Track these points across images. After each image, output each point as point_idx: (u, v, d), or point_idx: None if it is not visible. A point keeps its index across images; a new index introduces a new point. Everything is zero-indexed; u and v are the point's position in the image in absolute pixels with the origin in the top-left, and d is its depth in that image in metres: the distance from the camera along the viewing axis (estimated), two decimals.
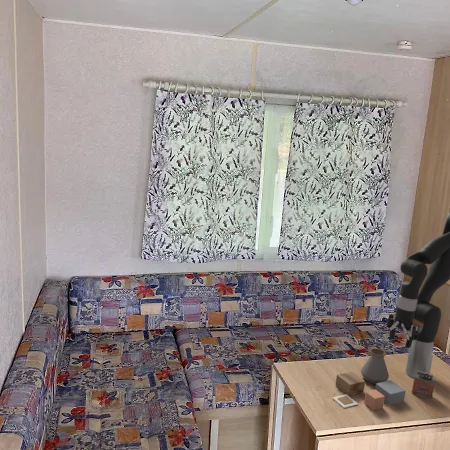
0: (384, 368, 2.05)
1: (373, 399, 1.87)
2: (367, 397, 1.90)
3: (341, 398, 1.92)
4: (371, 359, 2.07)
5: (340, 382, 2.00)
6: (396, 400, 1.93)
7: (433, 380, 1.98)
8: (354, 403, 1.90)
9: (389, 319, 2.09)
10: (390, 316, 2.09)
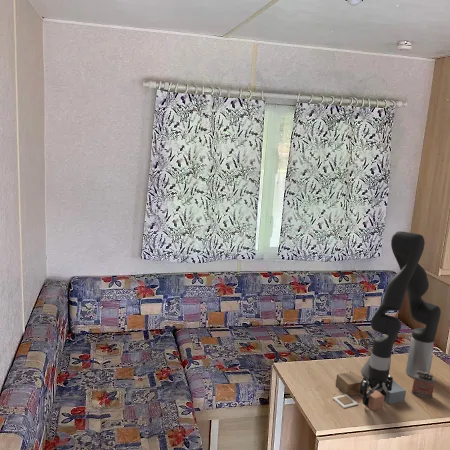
0: None
1: (373, 399, 1.87)
2: None
3: (341, 398, 1.92)
4: None
5: (339, 382, 2.01)
6: (396, 399, 1.93)
7: (433, 380, 1.98)
8: (354, 403, 1.90)
9: (366, 388, 1.84)
10: (367, 384, 1.84)
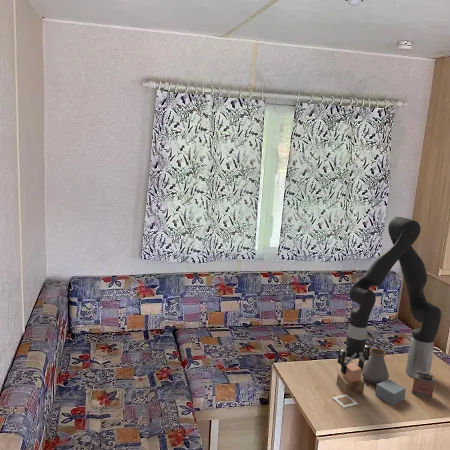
0: (384, 368, 2.05)
1: (350, 371, 1.97)
2: None
3: (341, 398, 1.92)
4: (371, 359, 2.07)
5: (339, 381, 2.01)
6: (398, 399, 1.94)
7: (433, 380, 1.98)
8: (354, 403, 1.90)
9: (343, 357, 1.94)
10: (344, 353, 1.94)
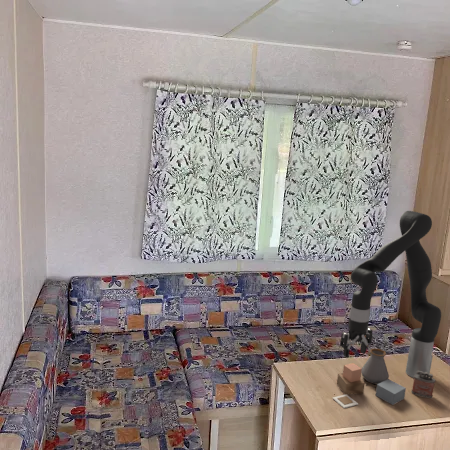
0: (384, 368, 2.05)
1: (350, 371, 1.97)
2: (345, 370, 1.99)
3: (341, 398, 1.92)
4: (371, 359, 2.07)
5: (339, 381, 2.01)
6: (398, 399, 1.94)
7: (433, 380, 1.98)
8: (354, 403, 1.90)
9: (346, 340, 1.92)
10: (347, 336, 1.92)
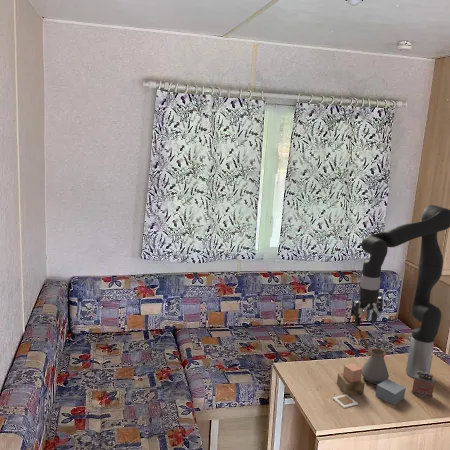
0: (384, 368, 2.05)
1: (351, 371, 1.96)
2: (346, 370, 1.99)
3: (341, 398, 1.92)
4: (371, 359, 2.07)
5: (339, 381, 2.01)
6: (398, 399, 1.94)
7: (433, 380, 1.98)
8: (354, 403, 1.90)
9: (357, 308, 1.95)
10: (358, 304, 1.94)
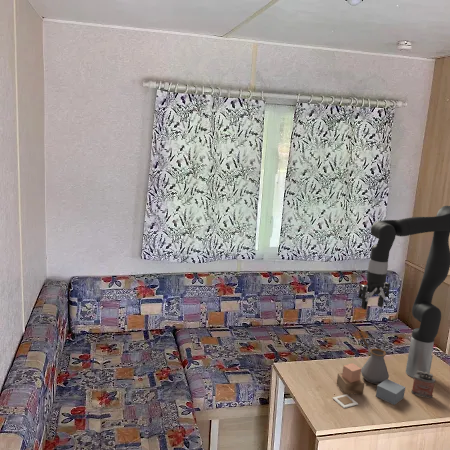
0: (384, 368, 2.05)
1: (350, 371, 1.96)
2: (345, 370, 1.99)
3: (341, 398, 1.92)
4: (371, 359, 2.07)
5: (339, 381, 2.01)
6: (399, 398, 1.94)
7: (433, 380, 1.98)
8: (354, 403, 1.90)
9: (364, 291, 1.98)
10: (365, 288, 1.98)
